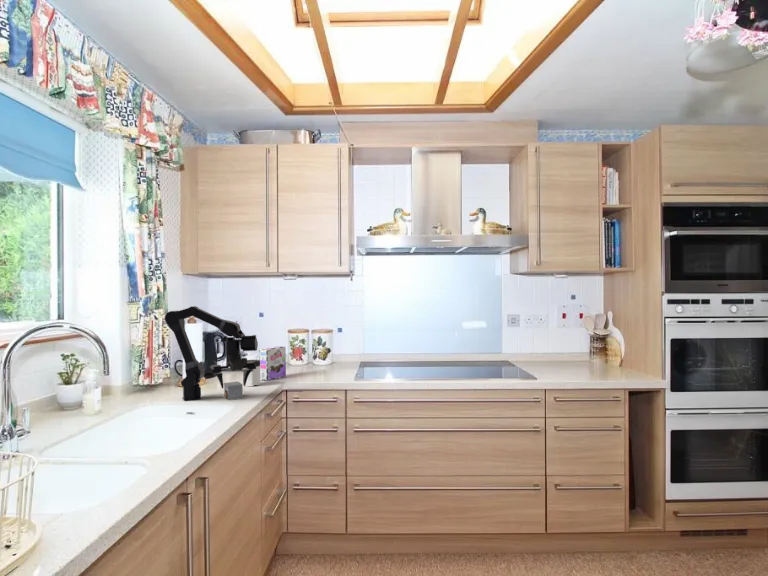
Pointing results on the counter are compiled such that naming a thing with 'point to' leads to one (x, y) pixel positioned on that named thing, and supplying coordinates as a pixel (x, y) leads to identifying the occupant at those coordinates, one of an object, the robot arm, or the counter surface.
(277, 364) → the candy box
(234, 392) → the gray rectangular block
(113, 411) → the counter surface
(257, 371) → the jar
